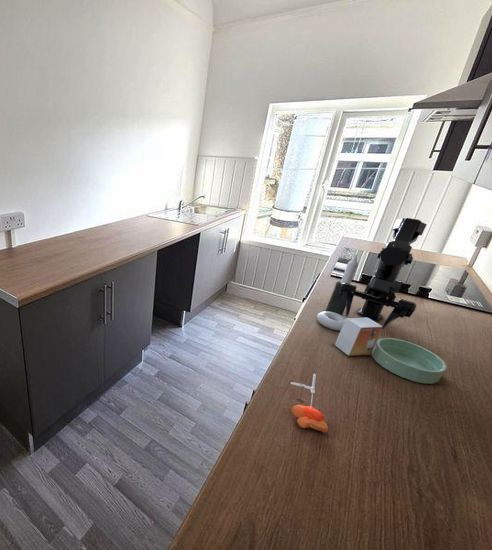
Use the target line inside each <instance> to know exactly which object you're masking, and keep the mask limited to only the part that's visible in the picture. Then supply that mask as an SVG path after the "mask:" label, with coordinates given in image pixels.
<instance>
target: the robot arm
mask: <svg viewBox="0 0 492 550" xmlns="http://www.w3.org/2000/svg"><path fill="white" fill-rule="evenodd" d="M426 227H427V223H425V222H423V221H422V220H420V219H417V218H410V217H403V218H400V219H396V221H395V222H394V225H393V228H392V231H393V234H392V239H393V240H392V241H389V242H387V243H386V245H385V247H382V248H381V249H380V250H379V253H378V255H377V257H376V258H377V259H379V260H378V262H377V265H376V269H375V271H374V273H373V275H372V277H371V279H370V281H369V282H368V283H367V284H366V286H365V289H364V291H361V290H357V288H358V286H357V285H354V284H351V283H350V284H348V283H343V284H341V287H340V289H339V295H340V296H342V299H344V300H345V302H346V307H345V317H348V316H349V314H350V313H351V307H352V305H353V300H354V297H358V298H361V300H365V301H364V303H363V305H362V308H360V309H359V310H358V311H357V314H358V315H361V316H362V317H368V318H369V319H371V320H373V321H379V320H380V319H381V318H382V316H383V314H381V313H382V311H383V309H384V307H387V308H389V307H390V308H393V309H392V311H391V312H390V314H389V315H388V317H387V318H386V319H385V321H384V322H383V324H382V326H383V328H382V330H384V329H385V328H386V327H388V326H389V325H390V324H391V323H392V322H394V321H395V320H397V319H399V318H402V319H403V318H411V317H412V315H413V314H414V313H415V311H416V308H417V303H416V302H413V301H411V300H408V299H404V298H400V299H399V300H398V301H395V300H396V298H397V296H396V294H398V293H399V292H400V289H401V287H402V284H403V282H401V281H398V278H399V275H400V273H401V270H402V268H403V267H404V266H408V265H410V264H412V262H413V259H414V257H413V253H411V251H412V249H413V247H412V246H411V245H412V244H414V243H415V242H417V240H418V238H419V236H423V233H424V231H425V229H426Z"/></svg>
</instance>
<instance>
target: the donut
mask: <svg viewBox="0 0 492 550" xmlns="http://www.w3.org/2000/svg"><path fill="white" fill-rule="evenodd" d="M346 318H347V317H346V316H344V315H340V314H337V313H334V312H327V311H326V310H325V311H321V312H319V313H318V314H317V316H316V319H317V322H318V323H319V324H320V325H321V326H323V327H325V328H327V329H330V330H333V331H339V332H340V331H341V329H342V327H343V324H344V322H345V319H346Z"/></svg>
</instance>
